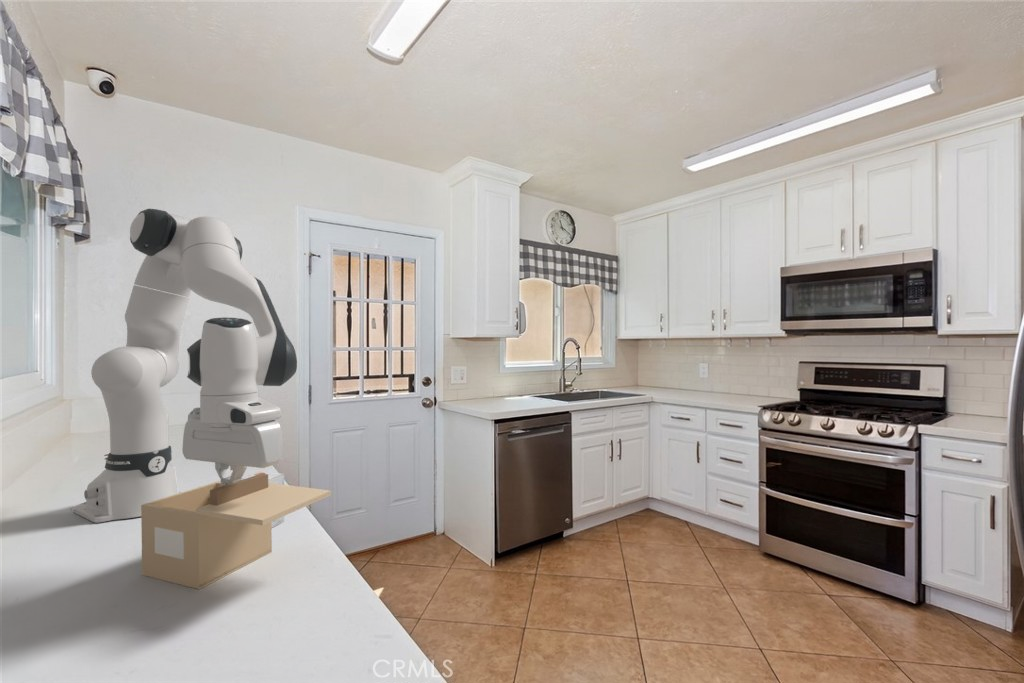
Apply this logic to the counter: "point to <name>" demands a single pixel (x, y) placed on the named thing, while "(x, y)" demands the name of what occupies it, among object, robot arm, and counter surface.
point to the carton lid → (258, 500)
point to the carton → (196, 540)
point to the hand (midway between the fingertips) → (231, 487)
